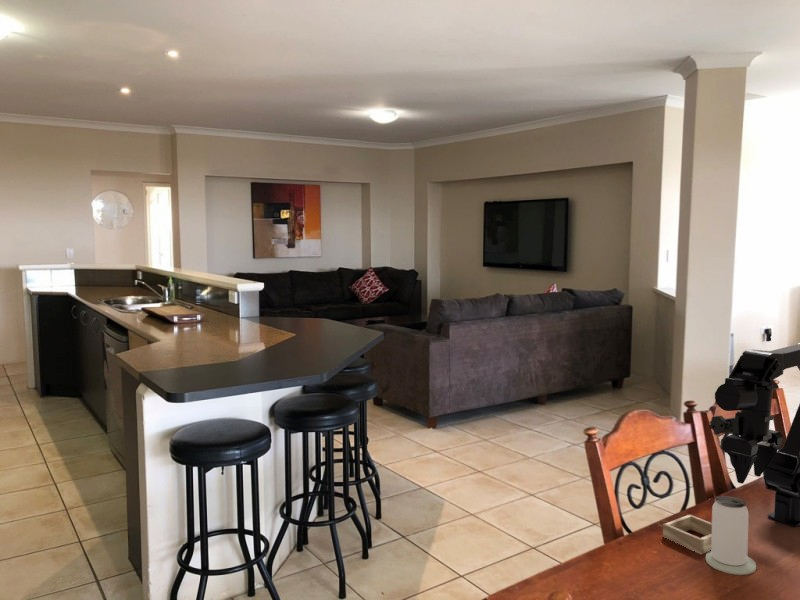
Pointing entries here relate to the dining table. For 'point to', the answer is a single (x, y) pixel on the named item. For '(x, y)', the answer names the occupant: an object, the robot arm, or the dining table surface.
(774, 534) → the dining table surface
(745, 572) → the pale green flat disc
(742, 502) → the can
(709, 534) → the holder
